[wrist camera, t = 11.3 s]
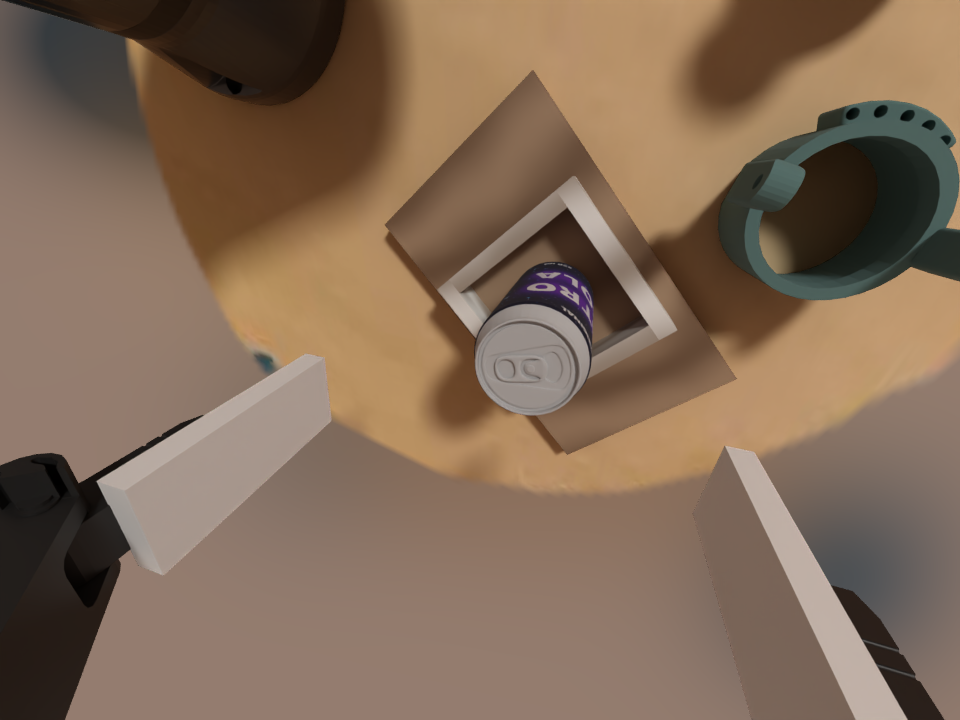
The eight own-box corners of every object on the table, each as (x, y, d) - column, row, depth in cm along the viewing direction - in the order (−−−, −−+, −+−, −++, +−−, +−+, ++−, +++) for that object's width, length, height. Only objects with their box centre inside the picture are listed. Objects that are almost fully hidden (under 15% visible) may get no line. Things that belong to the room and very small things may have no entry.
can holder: (393, 222, 30) (367, 228, 27) (536, 75, 24) (526, 57, 20) (568, 444, 34) (564, 474, 31) (730, 369, 28) (749, 396, 24)
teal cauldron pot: (896, 251, 23) (1054, 286, 15) (720, 296, 26) (774, 344, 18) (891, 85, 20) (1081, 21, 12) (696, 160, 24) (747, 147, 16)
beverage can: (594, 334, 28) (592, 425, 18) (518, 336, 30) (475, 420, 19) (593, 255, 26) (589, 306, 15) (511, 262, 28) (457, 312, 17)
